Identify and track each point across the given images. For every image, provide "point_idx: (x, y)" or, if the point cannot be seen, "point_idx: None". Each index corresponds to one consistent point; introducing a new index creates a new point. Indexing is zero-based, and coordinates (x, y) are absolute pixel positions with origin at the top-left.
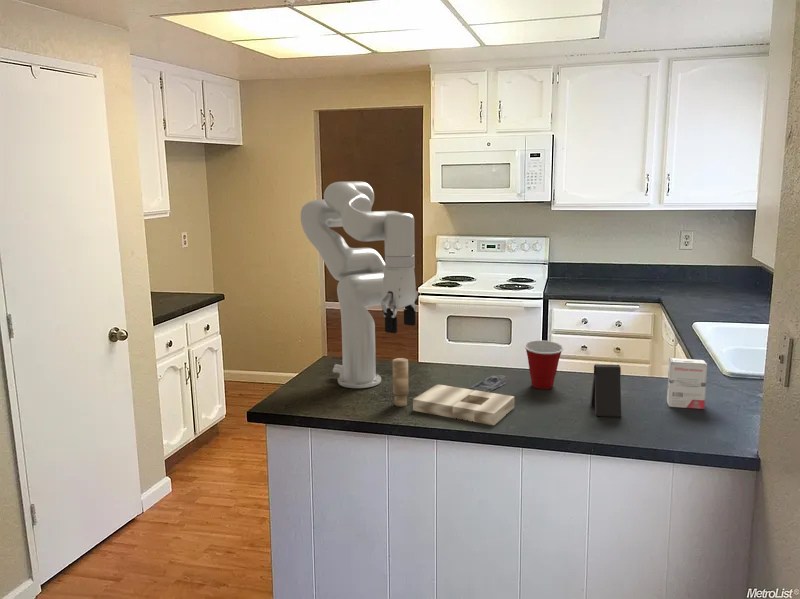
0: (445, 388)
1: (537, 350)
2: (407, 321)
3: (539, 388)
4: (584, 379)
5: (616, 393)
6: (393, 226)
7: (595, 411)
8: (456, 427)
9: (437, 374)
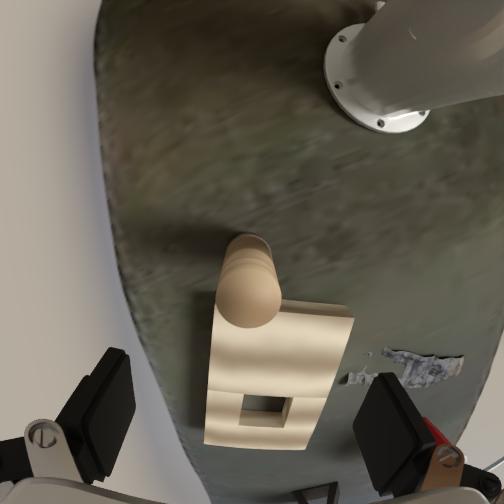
0: (325, 345)
1: None
2: (372, 409)
3: None
4: None
5: None
6: None
7: (299, 493)
8: (168, 387)
9: (473, 252)
